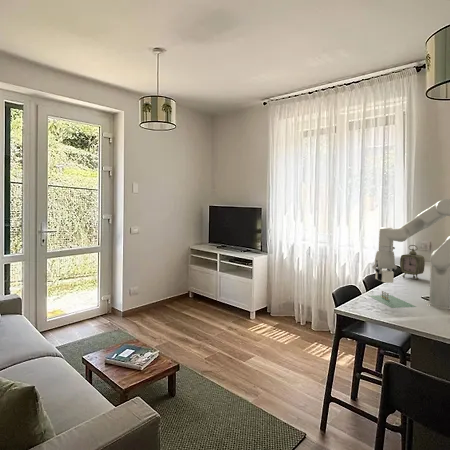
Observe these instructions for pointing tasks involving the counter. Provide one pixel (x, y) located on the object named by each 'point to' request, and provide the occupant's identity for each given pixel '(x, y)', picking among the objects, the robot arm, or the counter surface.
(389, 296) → the header board
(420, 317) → the counter surface
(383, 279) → the block
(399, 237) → the robot arm
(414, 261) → the tabletop clock
